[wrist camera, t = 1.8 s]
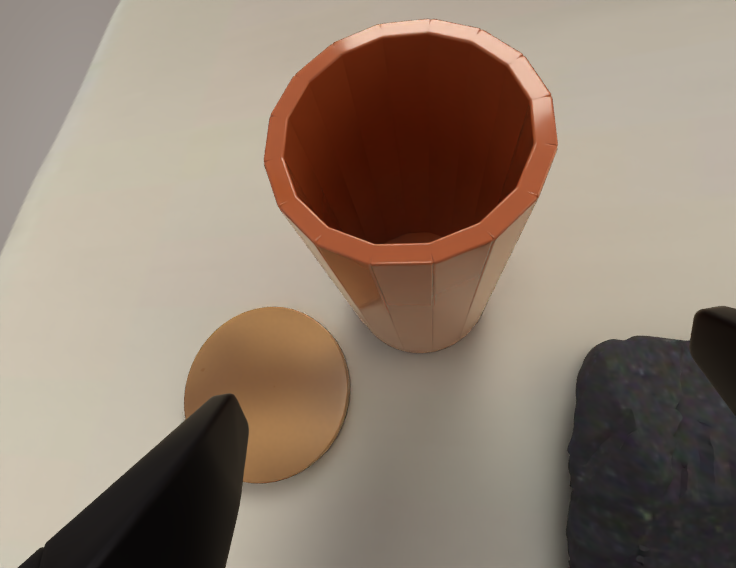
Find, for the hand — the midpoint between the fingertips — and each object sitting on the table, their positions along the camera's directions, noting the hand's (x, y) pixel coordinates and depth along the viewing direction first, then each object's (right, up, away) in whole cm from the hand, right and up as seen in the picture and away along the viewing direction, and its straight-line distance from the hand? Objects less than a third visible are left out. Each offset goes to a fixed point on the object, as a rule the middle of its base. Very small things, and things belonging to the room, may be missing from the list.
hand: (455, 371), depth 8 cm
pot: (+1, +1, +13) cm, 13 cm away
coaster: (-7, -4, +13) cm, 15 cm away
